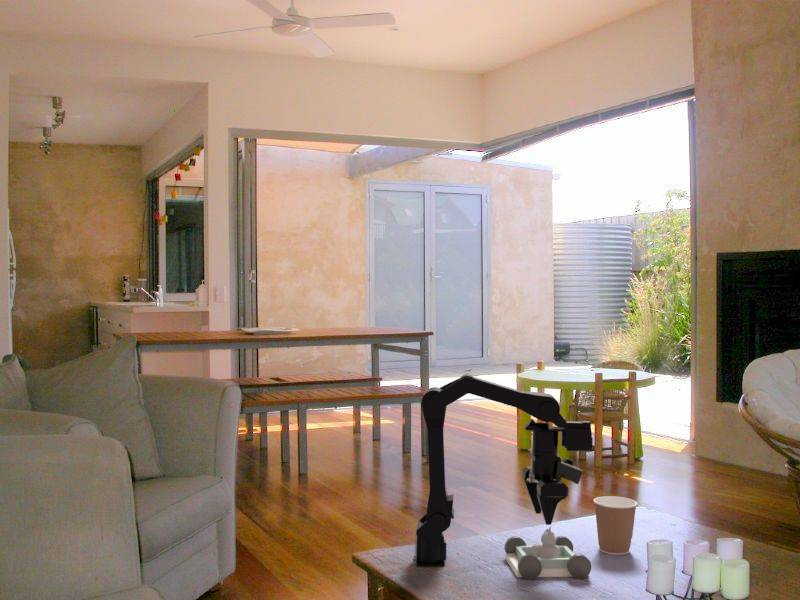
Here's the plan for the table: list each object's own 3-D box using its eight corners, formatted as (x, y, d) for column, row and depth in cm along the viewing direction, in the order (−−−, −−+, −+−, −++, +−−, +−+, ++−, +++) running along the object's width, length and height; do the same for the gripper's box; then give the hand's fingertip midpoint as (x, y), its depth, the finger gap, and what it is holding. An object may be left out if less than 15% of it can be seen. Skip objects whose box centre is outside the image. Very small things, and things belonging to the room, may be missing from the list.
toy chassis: (518, 579, 184) (519, 556, 184) (504, 557, 199) (504, 536, 199) (591, 578, 186) (591, 555, 186) (571, 556, 201) (571, 535, 201)
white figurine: (564, 564, 191) (565, 528, 191) (537, 566, 189) (538, 530, 189) (554, 556, 196) (554, 522, 196) (527, 558, 194) (528, 523, 194)
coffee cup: (645, 554, 203) (646, 504, 203) (609, 559, 200) (610, 508, 199) (619, 542, 213) (620, 494, 213) (584, 546, 209) (585, 497, 209)
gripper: (592, 458, 184) (590, 530, 184) (568, 442, 203) (566, 508, 203) (541, 458, 183) (540, 530, 184) (522, 442, 202) (520, 508, 202)
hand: (543, 518), depth 193 cm, fingers open, 9 cm apart
